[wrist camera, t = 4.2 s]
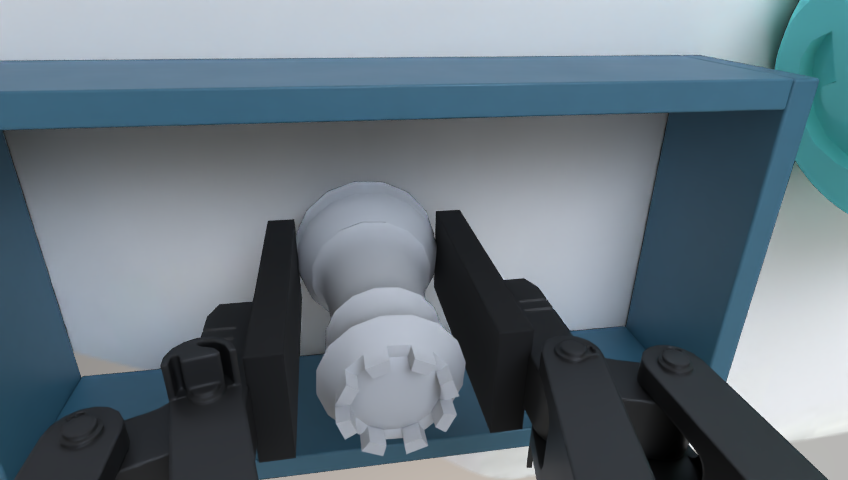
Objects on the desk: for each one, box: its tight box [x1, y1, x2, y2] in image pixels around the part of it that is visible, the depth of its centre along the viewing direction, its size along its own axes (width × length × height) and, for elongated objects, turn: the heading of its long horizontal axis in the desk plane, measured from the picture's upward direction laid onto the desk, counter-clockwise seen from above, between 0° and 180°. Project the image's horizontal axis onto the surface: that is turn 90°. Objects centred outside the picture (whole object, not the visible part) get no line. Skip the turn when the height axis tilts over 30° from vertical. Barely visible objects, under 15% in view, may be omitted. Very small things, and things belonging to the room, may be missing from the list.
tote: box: [0, 55, 819, 480], centre depth 17 cm, size 23×12×5 cm, turn 89°
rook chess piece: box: [296, 181, 466, 456], centre depth 15 cm, size 4×4×8 cm
